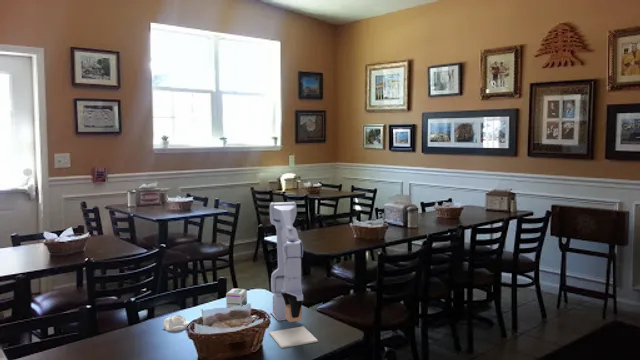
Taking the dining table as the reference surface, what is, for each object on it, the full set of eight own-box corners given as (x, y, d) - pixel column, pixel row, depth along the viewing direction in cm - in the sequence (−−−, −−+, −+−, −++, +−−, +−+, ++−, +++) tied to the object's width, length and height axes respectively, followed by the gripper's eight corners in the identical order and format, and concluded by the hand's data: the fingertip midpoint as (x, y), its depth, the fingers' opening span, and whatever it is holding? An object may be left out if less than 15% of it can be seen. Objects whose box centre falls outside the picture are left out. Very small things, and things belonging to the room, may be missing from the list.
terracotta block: (285, 317, 176) (285, 305, 176) (297, 315, 178) (297, 303, 178) (289, 322, 172) (289, 309, 172) (302, 320, 174) (302, 307, 173)
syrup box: (242, 334, 179) (241, 293, 177) (226, 332, 180) (225, 292, 178) (247, 327, 184) (247, 288, 183) (232, 326, 185) (231, 287, 184)
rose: (160, 313, 187) (186, 308, 192) (160, 324, 188) (187, 320, 192) (165, 322, 178) (193, 317, 183) (166, 334, 179) (193, 329, 183)
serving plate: (269, 333, 179) (269, 331, 179) (303, 327, 184) (303, 326, 184) (281, 348, 167) (281, 346, 167) (317, 341, 172) (317, 340, 172)
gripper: (274, 271, 178) (275, 309, 180) (288, 283, 165) (289, 323, 167) (293, 269, 181) (293, 306, 183) (309, 280, 168) (309, 320, 169)
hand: (292, 314), depth 175 cm, fingers closed on terracotta block, 4 cm apart
